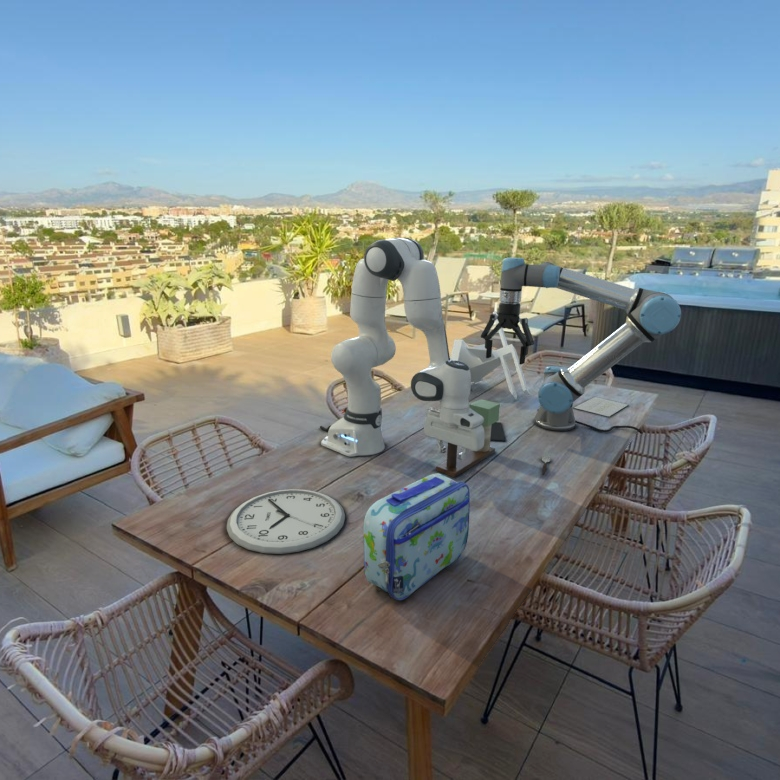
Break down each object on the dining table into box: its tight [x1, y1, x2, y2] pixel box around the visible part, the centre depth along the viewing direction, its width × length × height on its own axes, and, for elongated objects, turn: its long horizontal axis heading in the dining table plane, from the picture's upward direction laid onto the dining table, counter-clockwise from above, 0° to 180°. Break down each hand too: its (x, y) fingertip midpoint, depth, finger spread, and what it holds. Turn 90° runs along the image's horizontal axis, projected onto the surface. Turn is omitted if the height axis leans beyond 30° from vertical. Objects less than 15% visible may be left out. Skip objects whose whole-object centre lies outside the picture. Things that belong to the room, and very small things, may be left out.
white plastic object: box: [450, 310, 531, 400], centre depth 245 cm, size 37×45×31 cm
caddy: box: [435, 424, 496, 478], centre depth 170 cm, size 7×25×12 cm, turn 140°
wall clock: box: [226, 488, 346, 555], centre depth 135 cm, size 30×2×30 cm
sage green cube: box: [469, 398, 501, 427], centre depth 174 cm, size 7×7×6 cm
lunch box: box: [362, 472, 471, 601], centre depth 112 cm, size 26×11×21 cm, turn 134°
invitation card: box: [573, 396, 629, 418], centre depth 226 cm, size 21×1×15 cm
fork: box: [541, 451, 552, 476], centre depth 168 cm, size 3×16×2 cm, turn 160°
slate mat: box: [490, 421, 506, 443], centre depth 197 cm, size 18×18×1 cm
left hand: (451, 455), depth 163 cm, fingers open, 6 cm apart
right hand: (504, 360), depth 192 cm, fingers open, 13 cm apart
